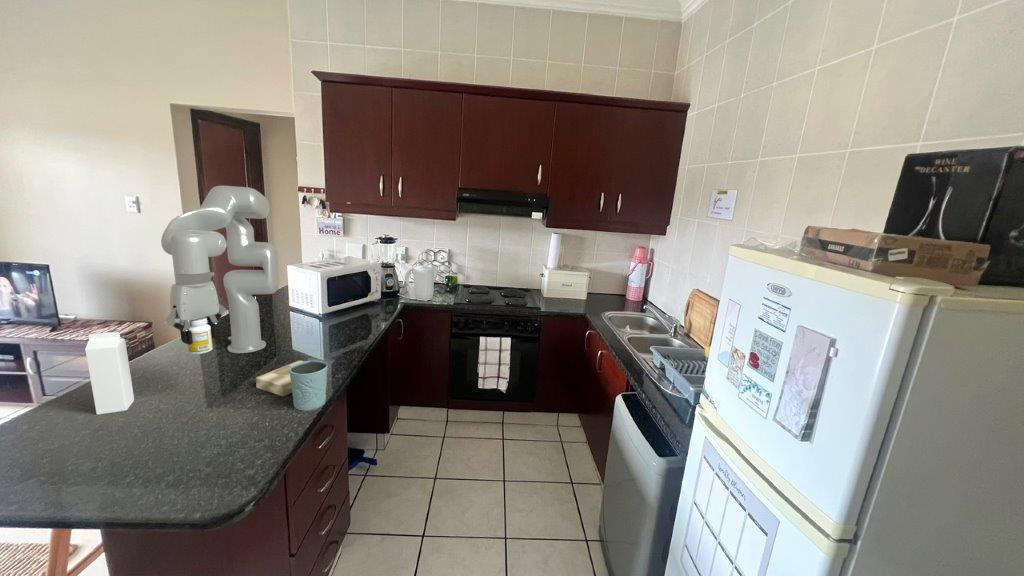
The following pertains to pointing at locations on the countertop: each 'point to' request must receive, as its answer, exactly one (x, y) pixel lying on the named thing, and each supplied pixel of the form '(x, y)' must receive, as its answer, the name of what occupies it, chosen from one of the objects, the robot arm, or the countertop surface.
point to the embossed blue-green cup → (308, 384)
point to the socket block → (276, 380)
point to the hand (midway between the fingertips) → (199, 339)
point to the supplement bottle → (200, 336)
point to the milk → (109, 372)
